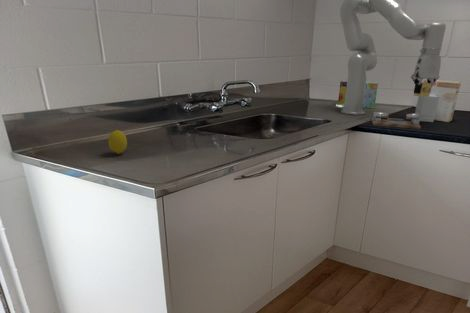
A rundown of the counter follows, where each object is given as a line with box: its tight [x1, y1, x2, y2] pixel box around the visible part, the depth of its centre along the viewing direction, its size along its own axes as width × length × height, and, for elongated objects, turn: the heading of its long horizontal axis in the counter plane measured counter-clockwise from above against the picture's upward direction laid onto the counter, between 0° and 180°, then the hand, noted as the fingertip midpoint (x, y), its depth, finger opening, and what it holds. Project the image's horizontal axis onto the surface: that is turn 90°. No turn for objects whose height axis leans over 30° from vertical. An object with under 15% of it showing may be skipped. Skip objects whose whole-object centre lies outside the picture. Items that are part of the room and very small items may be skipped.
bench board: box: [370, 118, 422, 130], centre depth 160 cm, size 20×10×1 cm, turn 74°
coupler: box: [413, 81, 432, 97], centre depth 157 cm, size 6×5×6 cm
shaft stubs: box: [372, 111, 421, 125], centre depth 160 cm, size 20×8×6 cm, turn 74°
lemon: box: [107, 129, 128, 155], centre depth 107 cm, size 6×6×8 cm
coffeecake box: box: [423, 79, 462, 123], centre depth 172 cm, size 15×7×20 cm, turn 47°
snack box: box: [337, 80, 379, 109], centre depth 205 cm, size 21×6×15 cm, turn 66°
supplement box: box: [414, 95, 439, 123], centre depth 170 cm, size 7×7×13 cm
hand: (421, 92), depth 158 cm, fingers closed on coupler, 5 cm apart
